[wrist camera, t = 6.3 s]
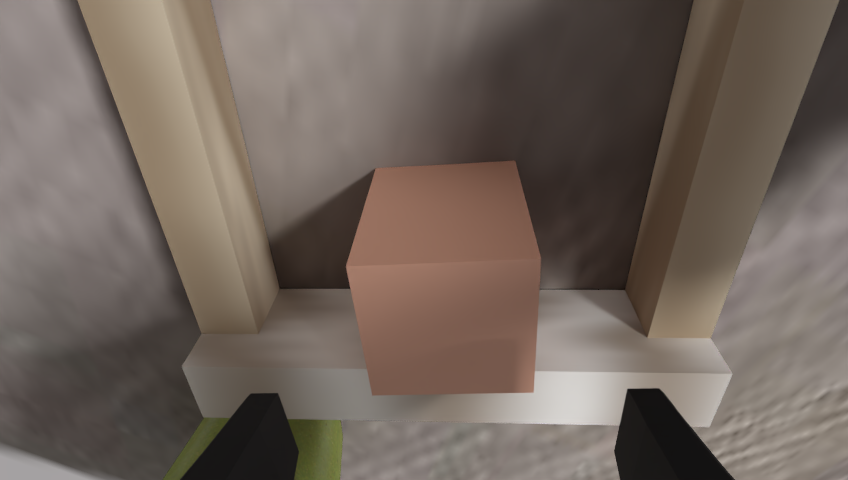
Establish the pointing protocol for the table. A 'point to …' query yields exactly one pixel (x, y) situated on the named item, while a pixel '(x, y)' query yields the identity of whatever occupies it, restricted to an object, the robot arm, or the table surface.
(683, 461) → the robot arm
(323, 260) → the table surface
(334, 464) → the plant pot
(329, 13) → the table surface
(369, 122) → the table surface
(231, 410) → the wooden u-shaped frame
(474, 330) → the block
